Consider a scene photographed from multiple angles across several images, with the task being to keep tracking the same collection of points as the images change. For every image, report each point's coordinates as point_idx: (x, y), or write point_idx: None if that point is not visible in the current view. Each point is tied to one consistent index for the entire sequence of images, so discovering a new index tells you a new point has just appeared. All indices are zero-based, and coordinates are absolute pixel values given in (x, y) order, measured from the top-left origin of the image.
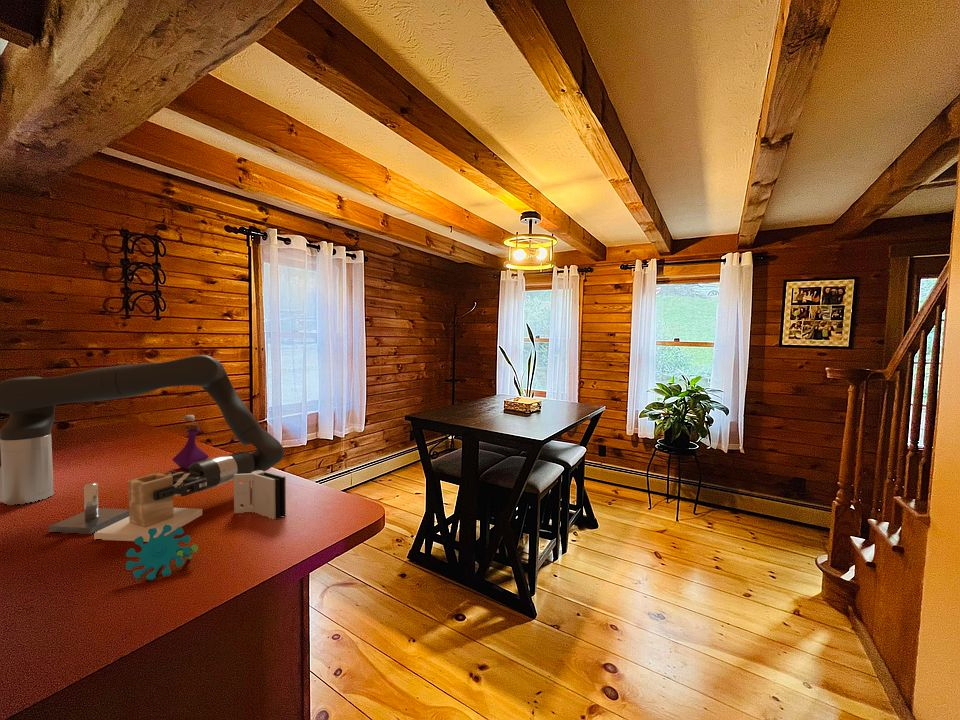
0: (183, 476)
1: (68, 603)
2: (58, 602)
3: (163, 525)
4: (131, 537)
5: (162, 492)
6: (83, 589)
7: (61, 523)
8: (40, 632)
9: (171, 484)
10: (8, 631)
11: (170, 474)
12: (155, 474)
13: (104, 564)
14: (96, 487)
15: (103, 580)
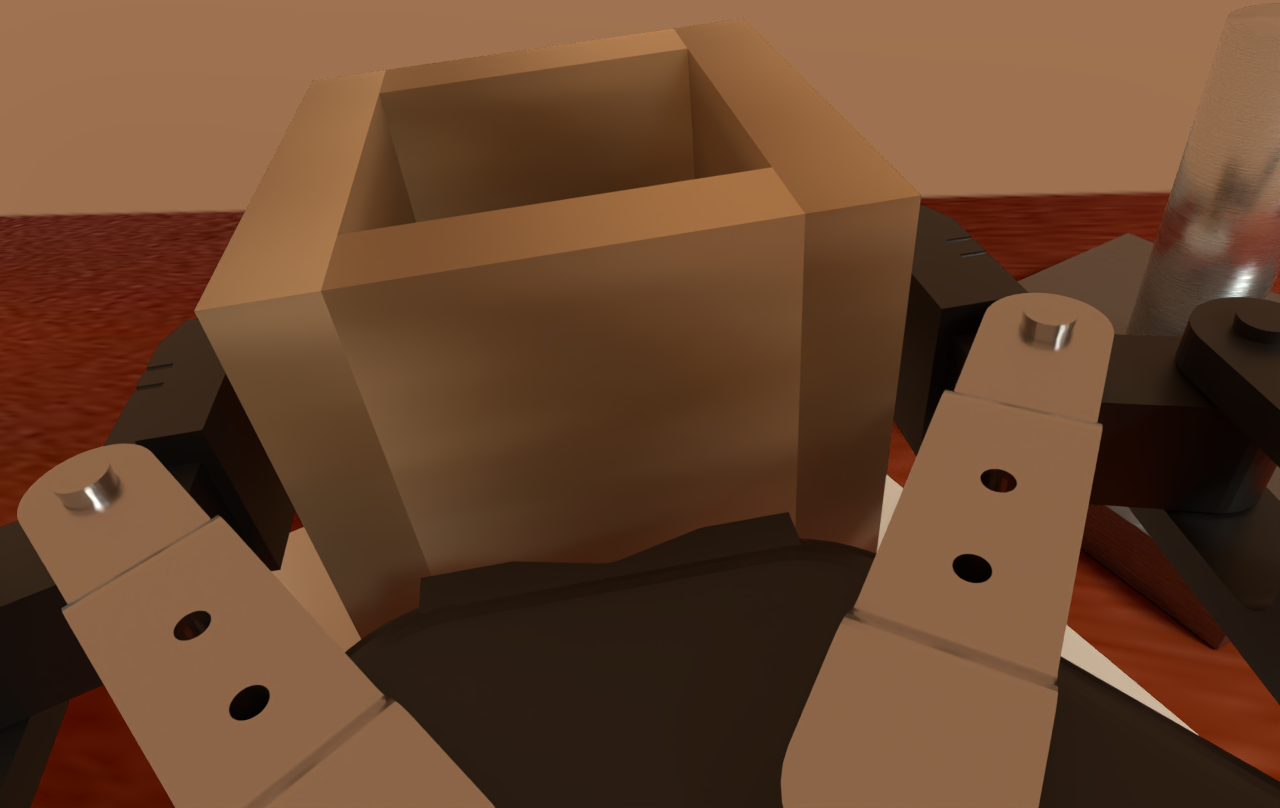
0: (358, 724)
1: (83, 288)
2: (136, 274)
3: None
4: None
5: (161, 352)
6: (125, 318)
7: (1143, 266)
8: (11, 247)
9: (292, 464)
10: (132, 213)
11: (1035, 545)
12: (770, 170)
13: None
14: (1263, 83)
15: (100, 363)
